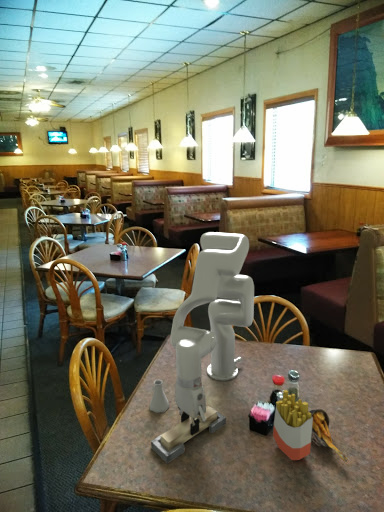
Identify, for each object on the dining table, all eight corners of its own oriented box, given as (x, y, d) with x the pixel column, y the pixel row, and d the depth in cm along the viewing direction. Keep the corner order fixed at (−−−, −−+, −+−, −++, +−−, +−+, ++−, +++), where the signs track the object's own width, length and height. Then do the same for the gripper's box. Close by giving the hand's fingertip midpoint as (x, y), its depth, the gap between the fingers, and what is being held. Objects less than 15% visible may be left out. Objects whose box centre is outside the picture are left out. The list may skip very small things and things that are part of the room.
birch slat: (208, 414, 125) (208, 405, 124) (217, 420, 122) (217, 411, 121) (161, 444, 112) (160, 435, 111) (169, 452, 109) (168, 442, 108)
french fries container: (298, 467, 105) (302, 413, 100) (271, 442, 114) (274, 392, 109) (309, 460, 107) (313, 407, 102) (282, 437, 116) (285, 387, 111)
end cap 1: (168, 437, 117) (168, 430, 116) (184, 451, 111) (184, 445, 110) (151, 447, 113) (150, 441, 112) (167, 463, 107) (166, 456, 106)
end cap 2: (211, 433, 118) (211, 426, 117) (195, 420, 124) (195, 414, 123) (225, 423, 122) (226, 417, 121) (209, 411, 128) (209, 405, 127)
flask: (166, 414, 127) (165, 389, 124) (146, 412, 128) (144, 387, 126) (171, 401, 134) (170, 377, 131) (152, 399, 135) (151, 375, 133)
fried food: (317, 405, 123) (364, 422, 107) (313, 440, 121) (360, 462, 105) (296, 403, 119) (342, 419, 103) (292, 439, 117) (337, 462, 101)
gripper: (217, 385, 108) (217, 437, 113) (181, 362, 120) (182, 410, 125) (198, 396, 104) (198, 450, 108) (162, 371, 116) (164, 421, 121)
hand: (190, 428), depth 117 cm, fingers closed on birch slat, 3 cm apart
